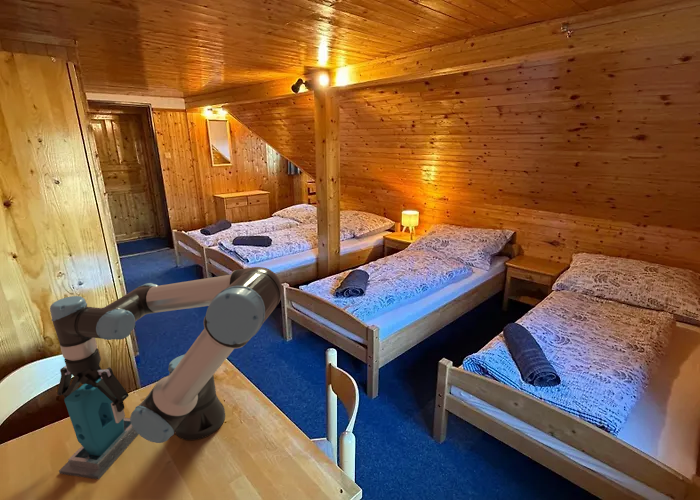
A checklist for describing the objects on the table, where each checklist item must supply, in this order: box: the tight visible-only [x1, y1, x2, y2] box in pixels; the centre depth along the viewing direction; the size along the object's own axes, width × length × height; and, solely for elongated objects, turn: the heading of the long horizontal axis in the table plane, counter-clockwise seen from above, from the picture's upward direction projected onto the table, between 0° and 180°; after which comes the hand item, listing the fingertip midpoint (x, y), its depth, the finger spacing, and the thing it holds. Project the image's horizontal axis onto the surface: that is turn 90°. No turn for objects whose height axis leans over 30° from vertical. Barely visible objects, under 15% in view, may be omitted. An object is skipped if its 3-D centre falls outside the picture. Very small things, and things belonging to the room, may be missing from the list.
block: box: [63, 378, 125, 456], centre depth 106 cm, size 12×5×20 cm, turn 168°
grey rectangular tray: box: [58, 417, 140, 480], centre depth 109 cm, size 12×20×3 cm, turn 171°
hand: (99, 417), depth 106 cm, fingers open, 13 cm apart
